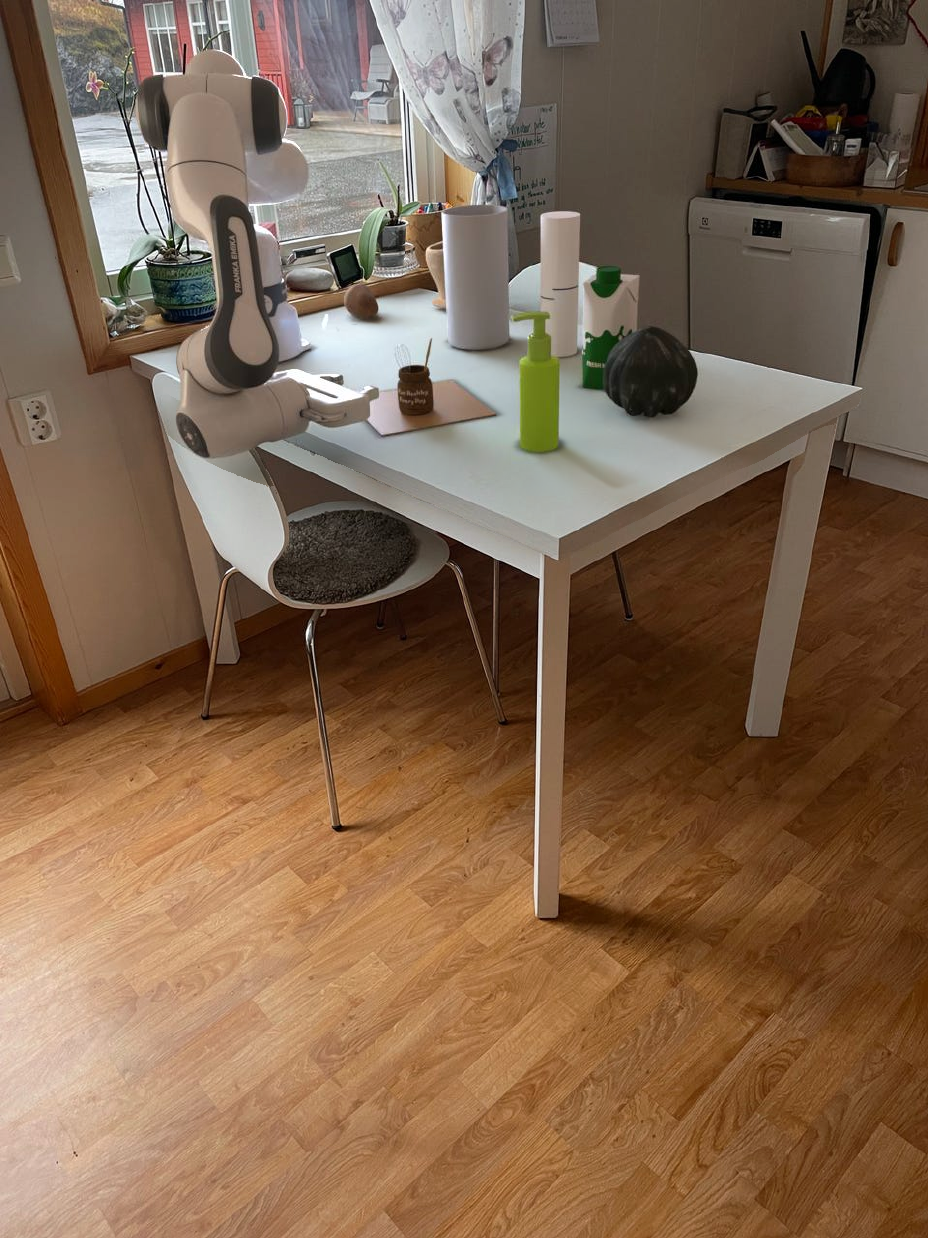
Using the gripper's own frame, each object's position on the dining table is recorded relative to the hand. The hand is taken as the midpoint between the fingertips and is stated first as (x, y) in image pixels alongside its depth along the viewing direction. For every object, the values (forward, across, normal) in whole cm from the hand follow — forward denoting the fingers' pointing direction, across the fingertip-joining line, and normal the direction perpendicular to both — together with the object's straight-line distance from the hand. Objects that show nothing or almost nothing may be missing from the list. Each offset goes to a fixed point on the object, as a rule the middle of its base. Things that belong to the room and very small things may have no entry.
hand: (358, 384), depth 152 cm
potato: (+42, +57, +8) cm, 71 cm away
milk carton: (+44, -14, +8) cm, 47 cm away
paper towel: (+13, +2, +8) cm, 15 cm away
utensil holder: (+12, 0, +8) cm, 14 cm away
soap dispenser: (+14, -25, +8) cm, 30 cm away
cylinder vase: (+46, +22, +8) cm, 51 cm away
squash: (+38, -28, +8) cm, 48 cm away
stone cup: (+60, +44, +8) cm, 74 cm away
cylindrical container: (+52, +5, +8) cm, 52 cm away
